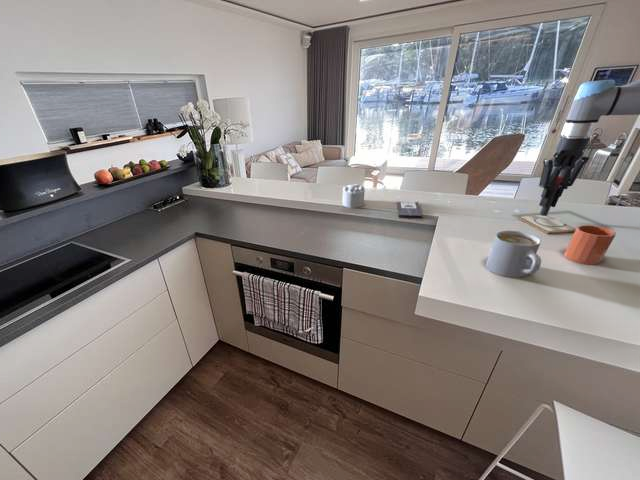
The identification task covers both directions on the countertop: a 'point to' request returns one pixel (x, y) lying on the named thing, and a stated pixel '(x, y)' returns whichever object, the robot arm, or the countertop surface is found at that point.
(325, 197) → the countertop surface
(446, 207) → the countertop surface
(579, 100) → the robot arm
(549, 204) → the marker
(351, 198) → the lumpy-topped squat cylinder
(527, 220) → the sketch pad
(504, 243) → the coffee mug
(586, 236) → the pen cup
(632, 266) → the countertop surface
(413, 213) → the chocolate bar
